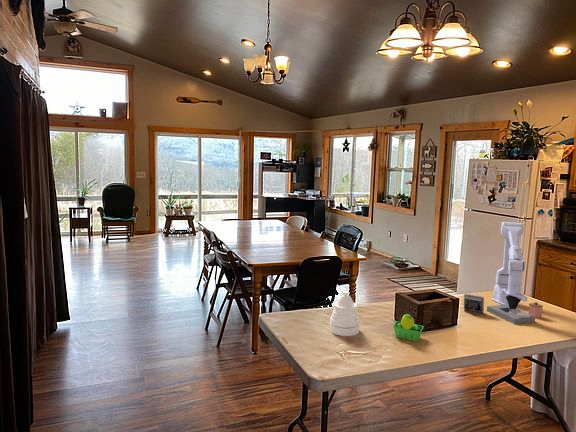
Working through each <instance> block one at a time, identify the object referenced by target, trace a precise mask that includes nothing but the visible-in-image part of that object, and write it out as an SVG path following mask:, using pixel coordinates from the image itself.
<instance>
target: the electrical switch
mask: <svg viewBox="0 0 576 432" xmlns="http://www.w3.org/2000/svg"><path fill="white" fill-rule="evenodd" d="M484 307H485V297H484V296H483V295H479V294H473V293H472V294H471V293H467V292H466V293H463V310H464V312H467V313H473V314H476V315H482V313H484V309H485V308H484Z"/></svg>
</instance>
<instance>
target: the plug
mask: <svg viewBox="0 0 576 432" xmlns="http://www.w3.org/2000/svg"><path fill="white" fill-rule="evenodd" d="M543 307H544V306H543V305H542V304H539V303H538V302H536V301H534V302H531V303H528V312H527V313H528V314H530V315H532V316H535V319H540V318H541V319H542V315H543Z"/></svg>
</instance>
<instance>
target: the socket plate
mask: <svg viewBox="0 0 576 432" xmlns="http://www.w3.org/2000/svg"><path fill="white" fill-rule="evenodd" d="M509 311H510V309H509V305H507V304H505V305H503V304H496V305H487V306H486V312H488V313H490V314H492V315H494V316H497V317H499V318H500V319H502V320H505V321H507V322H509V323H511V324H513V325H517V324H519V325H520V324H528V323H535V322H536V318H535V316H532V315H530V317H526V318H518V317H515V316H513V315H511V314H509Z"/></svg>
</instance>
